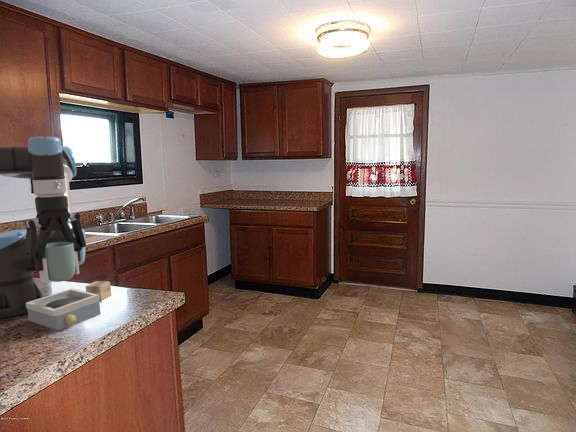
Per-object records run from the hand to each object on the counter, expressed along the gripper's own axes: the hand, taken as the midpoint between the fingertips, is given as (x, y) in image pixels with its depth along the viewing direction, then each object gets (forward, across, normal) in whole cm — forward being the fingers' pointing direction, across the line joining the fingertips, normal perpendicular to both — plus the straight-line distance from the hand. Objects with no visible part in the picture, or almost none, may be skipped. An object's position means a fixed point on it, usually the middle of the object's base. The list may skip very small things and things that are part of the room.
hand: (60, 277), depth 107 cm
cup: (+1, 0, 0) cm, 1 cm away
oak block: (+12, +14, +5) cm, 19 cm away
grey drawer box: (+12, 0, 0) cm, 12 cm away
